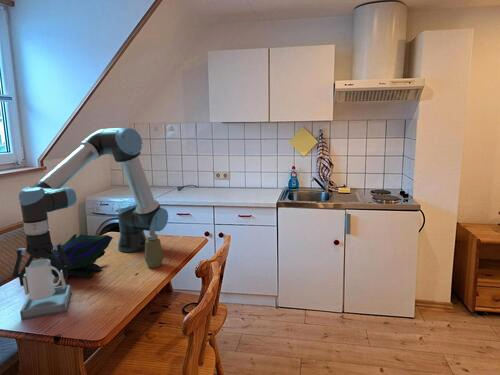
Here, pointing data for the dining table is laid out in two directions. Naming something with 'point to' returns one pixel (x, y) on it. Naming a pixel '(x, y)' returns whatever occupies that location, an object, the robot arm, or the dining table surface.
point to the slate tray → (47, 304)
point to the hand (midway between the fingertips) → (46, 290)
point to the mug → (40, 279)
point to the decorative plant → (82, 254)
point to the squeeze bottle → (153, 250)
